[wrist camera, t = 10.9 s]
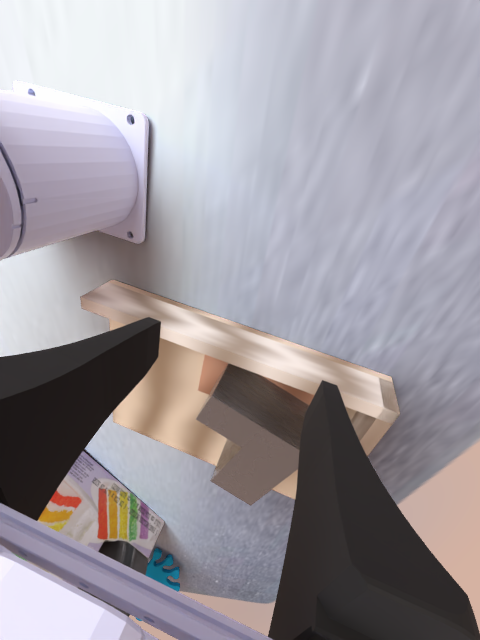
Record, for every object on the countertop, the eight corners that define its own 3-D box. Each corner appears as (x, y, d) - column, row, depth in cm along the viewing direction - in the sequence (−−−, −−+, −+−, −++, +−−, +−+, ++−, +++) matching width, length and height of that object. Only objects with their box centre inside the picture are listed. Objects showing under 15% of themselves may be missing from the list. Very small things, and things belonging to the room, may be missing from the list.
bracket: (262, 459, 28) (250, 505, 25) (192, 416, 28) (170, 456, 25) (316, 409, 23) (312, 458, 20) (232, 357, 23) (211, 396, 20)
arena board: (116, 418, 34) (94, 443, 31) (112, 279, 24) (80, 296, 21) (308, 499, 31) (304, 536, 28) (391, 377, 21) (400, 413, 18)
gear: (193, 583, 47) (145, 639, 45) (193, 559, 53) (151, 608, 51) (145, 534, 47) (96, 588, 45) (151, 516, 53) (107, 563, 51)
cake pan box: (173, 526, 43) (86, 718, 28) (152, 529, 46) (64, 706, 31) (79, 439, 39) (-81, 613, 24) (62, 447, 41) (-91, 609, 27)
